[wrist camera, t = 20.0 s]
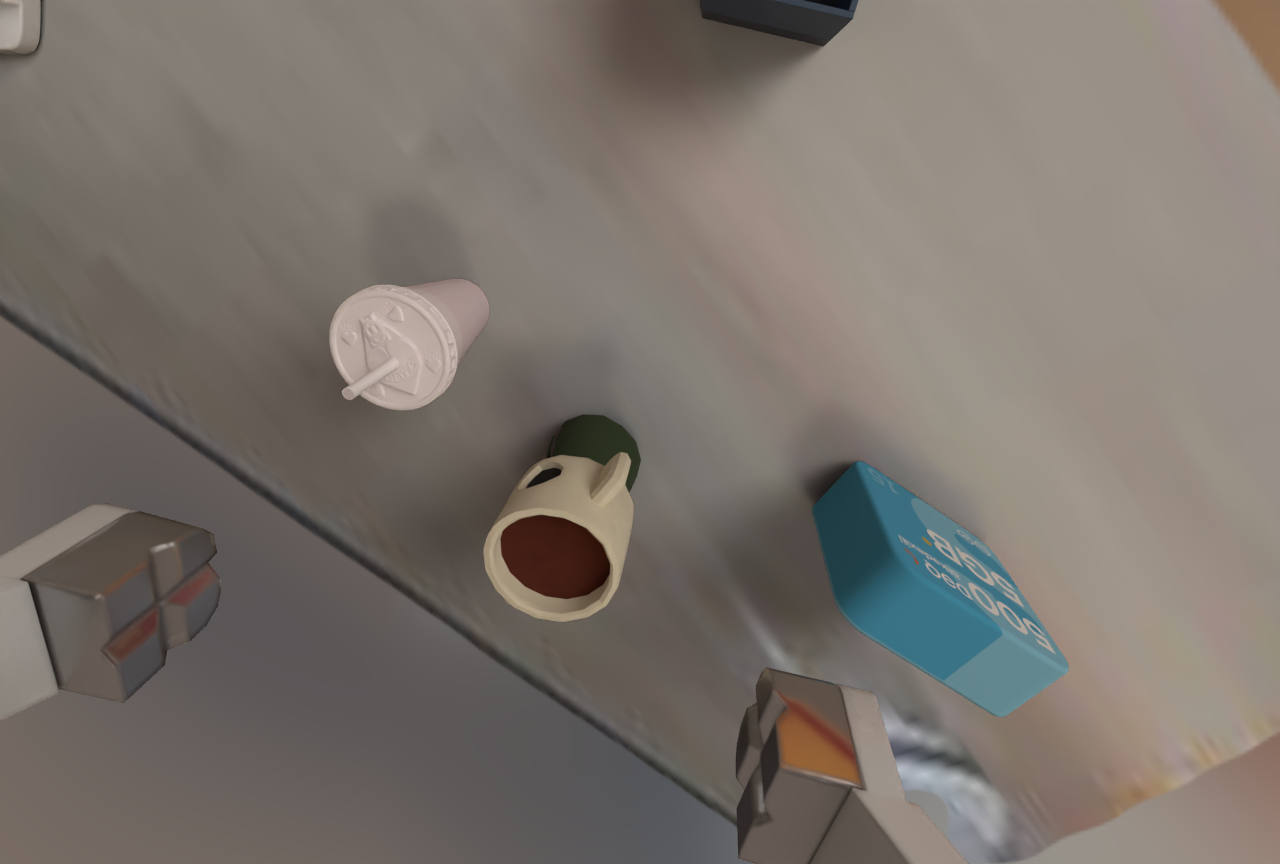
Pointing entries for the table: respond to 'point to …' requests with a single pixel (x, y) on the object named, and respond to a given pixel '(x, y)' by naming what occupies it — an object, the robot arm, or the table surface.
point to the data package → (931, 593)
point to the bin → (784, 17)
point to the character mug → (567, 524)
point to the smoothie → (405, 340)
